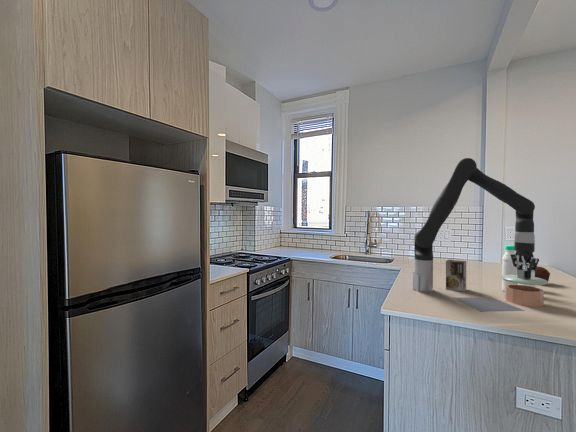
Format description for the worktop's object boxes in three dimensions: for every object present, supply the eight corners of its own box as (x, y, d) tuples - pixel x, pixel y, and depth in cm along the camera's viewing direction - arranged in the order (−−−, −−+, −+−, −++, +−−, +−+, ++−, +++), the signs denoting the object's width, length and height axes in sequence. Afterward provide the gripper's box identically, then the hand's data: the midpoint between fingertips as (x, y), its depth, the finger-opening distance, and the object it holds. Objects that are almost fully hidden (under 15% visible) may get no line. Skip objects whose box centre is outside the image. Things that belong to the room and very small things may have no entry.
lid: (521, 285, 132) (522, 274, 132) (493, 277, 149) (493, 267, 149) (558, 284, 133) (558, 273, 133) (525, 276, 150) (525, 266, 150)
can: (517, 289, 165) (518, 267, 165) (519, 286, 170) (519, 266, 170) (534, 291, 160) (534, 269, 160) (534, 289, 165) (535, 267, 165)
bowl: (521, 307, 134) (522, 292, 133) (498, 298, 148) (498, 284, 147) (551, 307, 134) (551, 291, 134) (525, 298, 148) (525, 284, 148)
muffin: (548, 286, 170) (548, 269, 170) (524, 283, 178) (524, 266, 178) (551, 283, 178) (551, 266, 177) (528, 280, 186) (528, 264, 186)
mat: (480, 312, 127) (480, 311, 127) (452, 298, 147) (452, 297, 147) (524, 311, 128) (524, 310, 128) (491, 298, 148) (491, 297, 148)
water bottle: (514, 290, 163) (515, 245, 162) (520, 293, 156) (521, 246, 155) (499, 289, 165) (500, 244, 164) (504, 292, 158) (505, 246, 158)
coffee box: (466, 290, 163) (467, 261, 163) (463, 292, 158) (464, 262, 158) (448, 287, 169) (448, 259, 169) (445, 289, 165) (445, 260, 164)
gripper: (505, 240, 147) (504, 274, 148) (529, 243, 133) (529, 281, 133) (519, 239, 148) (519, 274, 148) (545, 243, 134) (545, 280, 134)
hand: (523, 277), depth 141 cm, fingers closed on lid, 3 cm apart
